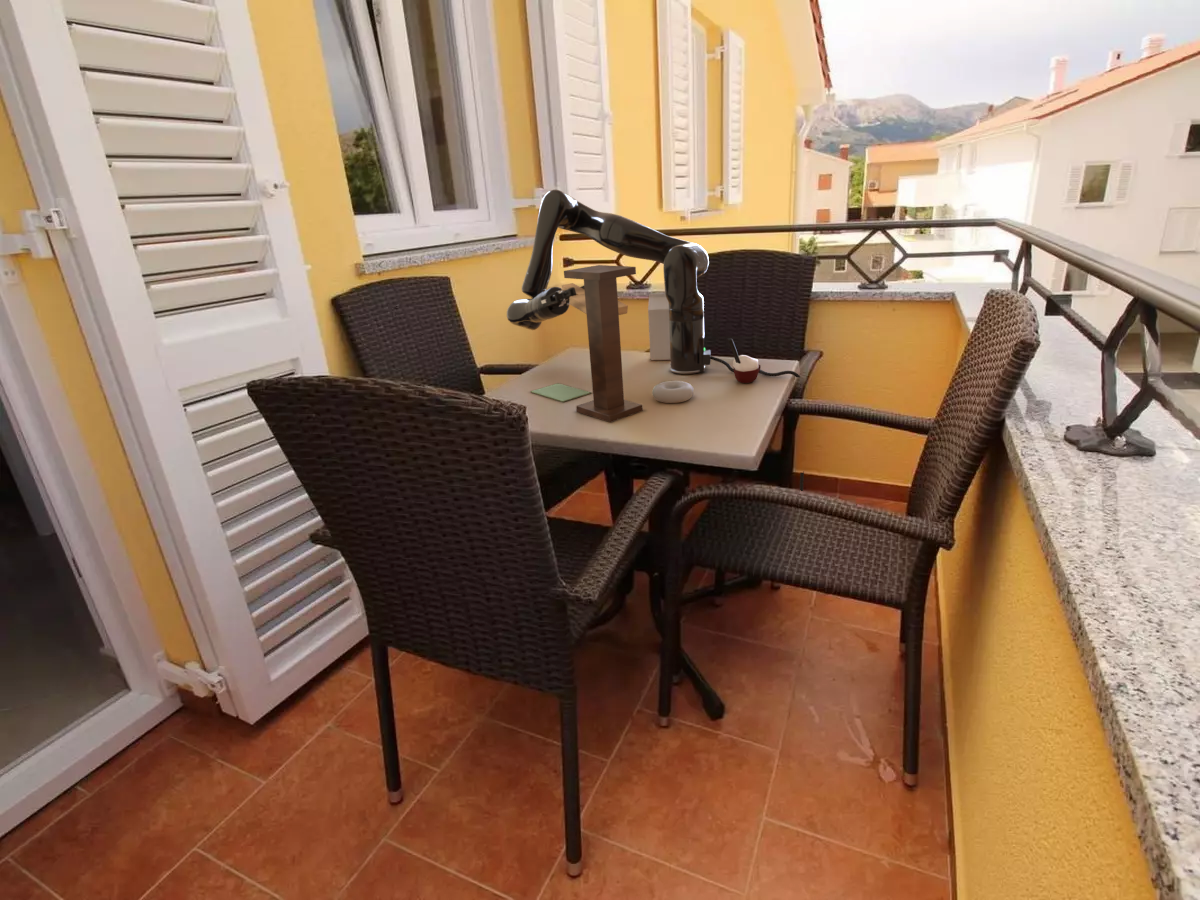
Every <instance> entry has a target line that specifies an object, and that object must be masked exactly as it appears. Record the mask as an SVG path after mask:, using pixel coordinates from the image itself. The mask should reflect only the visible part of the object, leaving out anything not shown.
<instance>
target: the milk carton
mask: <svg viewBox="0 0 1200 900" xmlns="http://www.w3.org/2000/svg"><path fill="white" fill-rule="evenodd" d="M647 315H648V316H647V317H648V338H649V340H648V341H649V360H650V361H670V333H669V304H668V300H667V298H666V295H665V292H654V293H648V306H647Z"/></svg>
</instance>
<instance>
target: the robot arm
mask: <svg viewBox="0 0 1200 900" xmlns="http://www.w3.org/2000/svg"><path fill="white" fill-rule="evenodd" d="M558 228H559V229H561V230H566V231H569V232H573V233H577V234H580V235H583V236H586V237H588V238H590V239H592V240H593V241H594V242H596V243H597V244H599V245H601V246H603V247H604V248H606V249H608V250H609V251H610V250H611V251H613V252H615V253H617V254H619V255H622V256H626V257H629V258H633V259H634V258H635V259H640V260H647V261H652V262H656V263H659V264H662V265H663V283H664V284H663V285H664V293H665V295H666V298H667V300H668V304H669V333H670V360H669V361H670V362H669V365H670V367H669V369H670V370H669V371H670V372H672V373H673V374H678V375H693V374H695V375H696V374H700V373H705V369H706V366H711V362H712V361H714V362H718V363H721V364H722V365H724V366H726V367H727V369H728V370H729V371H730V372H732V373H734V367H732V366H731V364H730V363H729V362H727V361H726V360H724V359H721V358H718V357H715V356H713V355H711V353H712V350H711V349H706V346H705V313H704V312H705V310H704V308H705V307H704V306H705V304H704V303H705V301H704V296H703V295H702V294H701V293H700V292H699V290H698V282H697V279H698V278H699V277H701V276H702V275H704V274H705V273H706V272H707V270H708V268H709V264H710V261H709V255H708V253H707V251H706V250H705V249H704V248H703V247H702V245H699V244H698V243H696V242H691V241H687V240H683V239H680V238H676V237H673V236H670V235H666V234H664V233H662V232H660V231H657V230H655V229H653V228H652V227H649V226H646V225H645V224H641V223H640V222H638V221H635V220H633V219H630V218H628V217H625V216H623V215H619V214H617V213H611V212H605V211H598V210H595V209H593V208H591V207H590V206H587V205H585V204H584V203H583V202H580V201H579V200H577V199H576V198H574V197H572V196H571V195H569V194H567V193H565V192H564V191H562V190H559V189H551V190H549V191H548V192H546V193H545V195H544V196H543V197H542V199H541V202H540V206H539V210H538V215H537V222H536V229H535V234H534V240H533V245H532V251H531V256H530V259H529V263H528V266H527V269H526V272H525V275H524V279H523V281H522V285H521V292H522V293H523V294H525V295H526V296H528V297H529V298H522V299H516V300H514V301H513V302H511V303H510V305H509V306H508V307H507V309H506V318H507V320H508V322H509V323H510V324H512V325H514V326H517V327H520V328H523V329H527V330H530V331H536V330H538V329H539V328H540V327H541V325H542V323H543V322H544V321H547V320H553V319H554V318H557V317H559V316H561V315H564V314H565V313H567V311H568V310H569V307H570V306H571V305H570V304H569V298H570V296H575V295H576V291H575V288H574V287H572V288H569V289H567V290H562V287H558V286H552V287H549V288H548V285H549V283H550V280H551V276H552V271H553V248H554V240H555V236H556V234H557V231H558ZM580 287H581V288H583V289H584V285H581V286H580ZM711 360H712V361H711ZM758 374H761V375H762V376H763V375H764V376H767V377H781V376H784V375H791V376H794V377H795V378H801V375H800V374H799V373H798V372H795V371H793V370H783V371H778V372H767V371H765V370H763V369H760V371H759V373H758ZM804 477H805V471H802V472H800V474H799V491H800V490H801V491H803V492H804Z"/></svg>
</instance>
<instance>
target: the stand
mask: <svg viewBox="0 0 1200 900" xmlns="http://www.w3.org/2000/svg"><path fill="white" fill-rule="evenodd" d="M633 275H637V267H636V266H631V265H630V266H627V265H607V264H606V265H604V264H598V265H591V266H585V267H579V268H573V269H566V270H563V277H564V279H574V280H583V286H584V290H585V302H586V325H587V337H588V347H589V348H588V349H589V362H590V363H589V364H590V375H591V386H592V387H591V388H592V397H593V399H592V400H589V401H587V402H583V403H581V404H577V405H575V407H576V408H575V409H576V413H580V414H583V415H586V416H589V417H591V418H595V419H598V420H601V421H605V422H608V423H612V422H616V421H618V420H621V419H624V418H627V417H629V416H632V415H635V414H638V413H640V412H643V411H644V409H643V404H641V403H638V402H634V401H631V400H626V399H625V395H624V379H623V362H622V347H621V331H620V330H621V329H620V315H619V312H618V301H619V298H618V297H619V296H618V283H617V280H618V279H617V278H621V277H622V278H623V277H628V276H633Z"/></svg>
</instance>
